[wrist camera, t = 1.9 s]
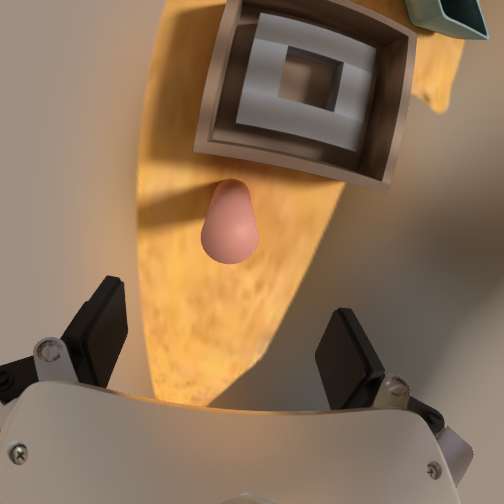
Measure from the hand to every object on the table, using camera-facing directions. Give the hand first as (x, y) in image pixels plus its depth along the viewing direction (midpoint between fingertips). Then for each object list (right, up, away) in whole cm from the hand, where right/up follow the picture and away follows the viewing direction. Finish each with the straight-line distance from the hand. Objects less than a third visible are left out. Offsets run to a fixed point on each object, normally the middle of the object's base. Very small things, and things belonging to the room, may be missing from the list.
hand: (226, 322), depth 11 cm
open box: (+6, +21, +13) cm, 25 cm away
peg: (-1, +9, +18) cm, 21 cm away
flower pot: (+23, +35, +8) cm, 43 cm away
